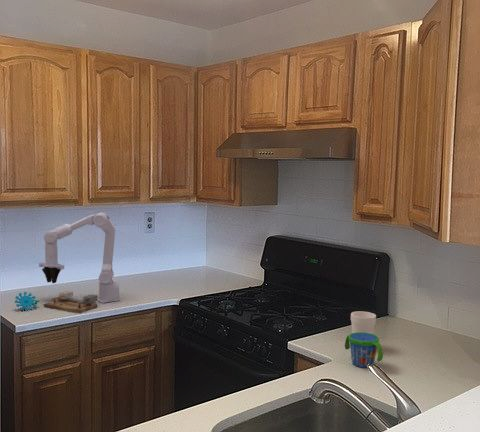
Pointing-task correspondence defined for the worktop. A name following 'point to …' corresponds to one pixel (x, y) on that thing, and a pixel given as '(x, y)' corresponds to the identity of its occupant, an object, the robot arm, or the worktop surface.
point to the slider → (64, 295)
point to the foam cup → (363, 322)
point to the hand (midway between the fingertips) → (51, 282)
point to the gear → (26, 301)
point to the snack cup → (363, 348)
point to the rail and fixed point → (86, 300)
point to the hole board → (69, 306)
